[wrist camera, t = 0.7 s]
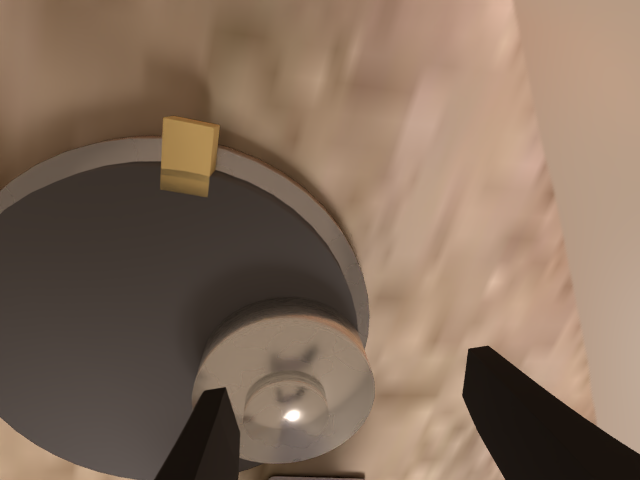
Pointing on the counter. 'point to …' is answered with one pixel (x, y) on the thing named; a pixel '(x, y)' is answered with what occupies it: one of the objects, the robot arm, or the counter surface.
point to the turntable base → (225, 162)
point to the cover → (289, 378)
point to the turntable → (139, 296)
